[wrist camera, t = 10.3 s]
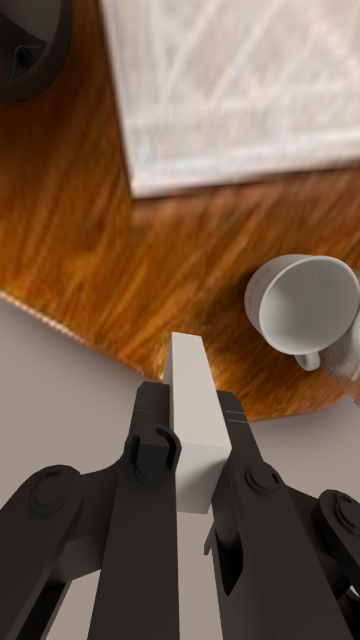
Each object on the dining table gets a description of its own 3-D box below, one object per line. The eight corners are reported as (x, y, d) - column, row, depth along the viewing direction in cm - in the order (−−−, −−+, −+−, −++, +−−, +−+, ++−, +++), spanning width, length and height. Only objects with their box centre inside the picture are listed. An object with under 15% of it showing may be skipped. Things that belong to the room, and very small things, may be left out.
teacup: (236, 254, 30) (259, 264, 22) (322, 243, 30) (374, 249, 22) (239, 351, 35) (258, 385, 27) (312, 342, 35) (351, 374, 27)
